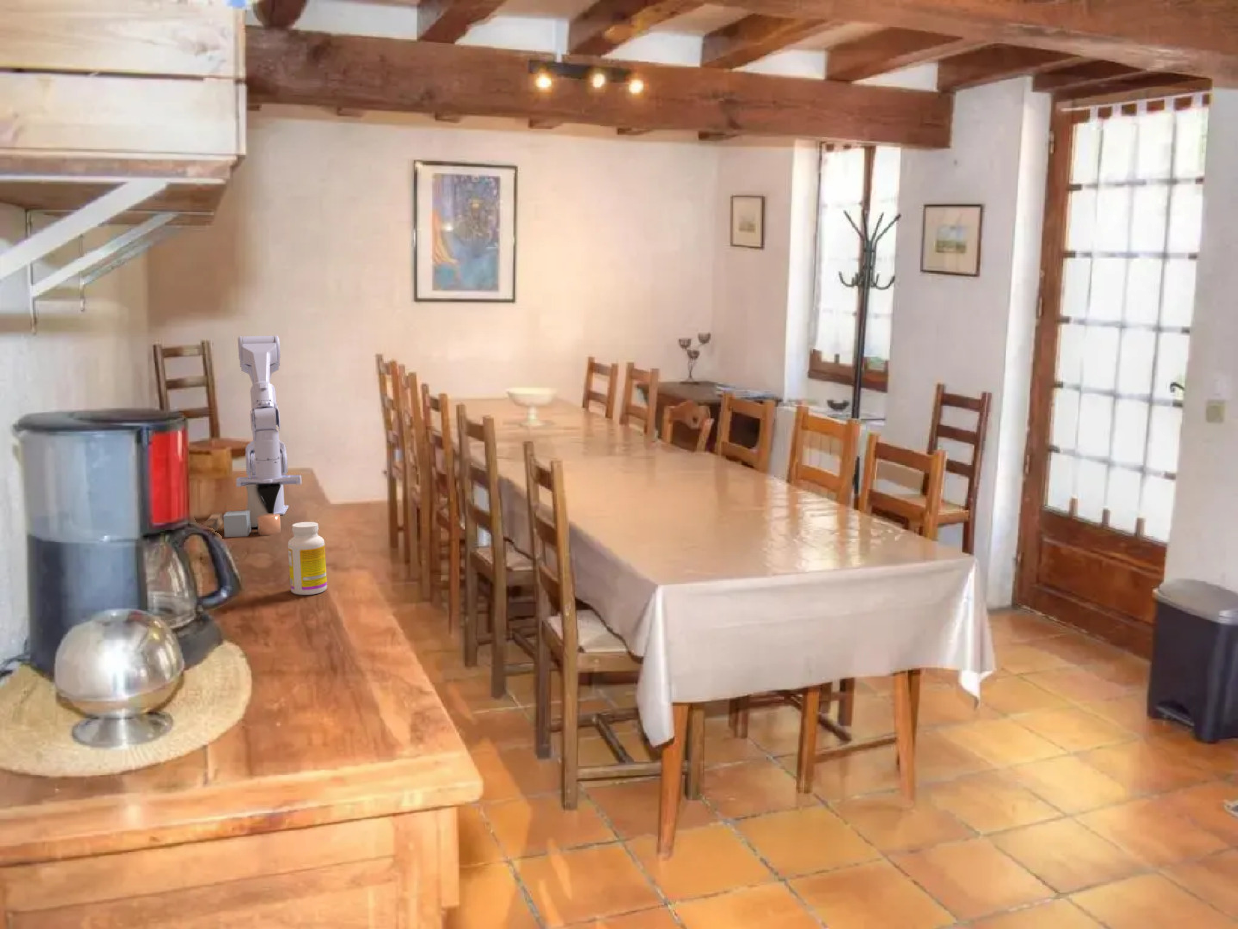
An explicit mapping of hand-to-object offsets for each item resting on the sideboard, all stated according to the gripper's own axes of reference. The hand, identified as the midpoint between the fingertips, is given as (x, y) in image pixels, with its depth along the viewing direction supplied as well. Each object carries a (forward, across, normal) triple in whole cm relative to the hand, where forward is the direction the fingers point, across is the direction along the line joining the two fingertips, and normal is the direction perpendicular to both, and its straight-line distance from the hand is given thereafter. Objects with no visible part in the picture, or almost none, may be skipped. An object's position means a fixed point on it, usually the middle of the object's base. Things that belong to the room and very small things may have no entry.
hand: (271, 515), depth 266 cm
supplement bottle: (+3, +14, -59) cm, 61 cm away
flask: (+2, -3, 0) cm, 4 cm away
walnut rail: (+2, -13, -2) cm, 13 cm away
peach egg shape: (+3, 0, -7) cm, 8 cm away
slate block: (+3, -7, -7) cm, 10 cm away
